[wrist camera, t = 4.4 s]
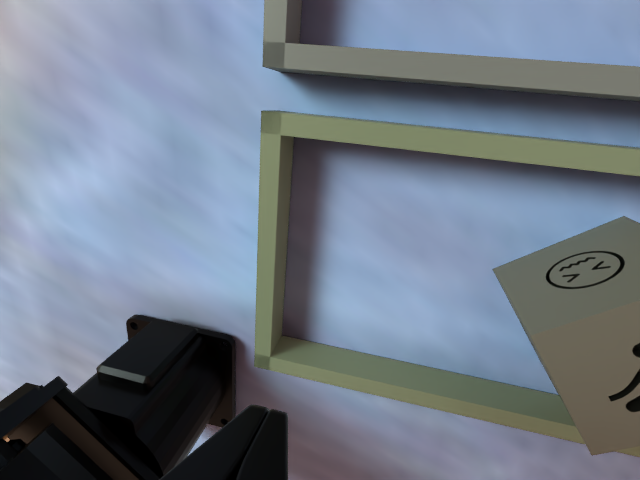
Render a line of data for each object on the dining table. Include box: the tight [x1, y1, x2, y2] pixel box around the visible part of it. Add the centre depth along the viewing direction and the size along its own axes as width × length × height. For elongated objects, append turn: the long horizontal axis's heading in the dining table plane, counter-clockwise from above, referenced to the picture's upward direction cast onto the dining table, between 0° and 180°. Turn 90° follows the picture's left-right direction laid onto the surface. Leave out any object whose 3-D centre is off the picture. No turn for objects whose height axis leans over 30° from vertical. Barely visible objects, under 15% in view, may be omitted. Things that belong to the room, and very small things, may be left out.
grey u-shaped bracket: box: [254, 111, 640, 457], centre depth 15 cm, size 12×18×2 cm, turn 85°
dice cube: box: [493, 216, 640, 455], centre depth 13 cm, size 5×5×5 cm
